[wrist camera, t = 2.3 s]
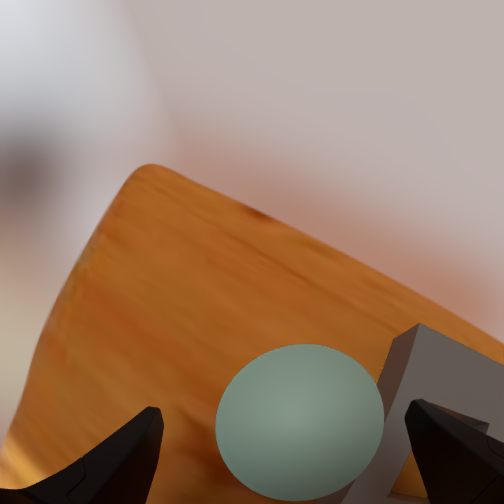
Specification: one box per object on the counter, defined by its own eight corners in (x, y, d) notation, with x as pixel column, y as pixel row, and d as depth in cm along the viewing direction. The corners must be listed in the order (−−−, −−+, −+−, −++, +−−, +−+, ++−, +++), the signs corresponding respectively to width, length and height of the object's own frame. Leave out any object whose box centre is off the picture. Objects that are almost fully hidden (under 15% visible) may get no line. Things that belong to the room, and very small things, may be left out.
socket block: (446, 527, 10) (473, 536, 6) (312, 505, 13) (326, 524, 10) (501, 388, 16) (530, 379, 13) (393, 339, 20) (419, 322, 16)
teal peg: (285, 459, 15) (335, 519, 5) (221, 427, 16) (183, 454, 6) (318, 400, 17) (406, 381, 7) (257, 370, 19) (269, 316, 8)
